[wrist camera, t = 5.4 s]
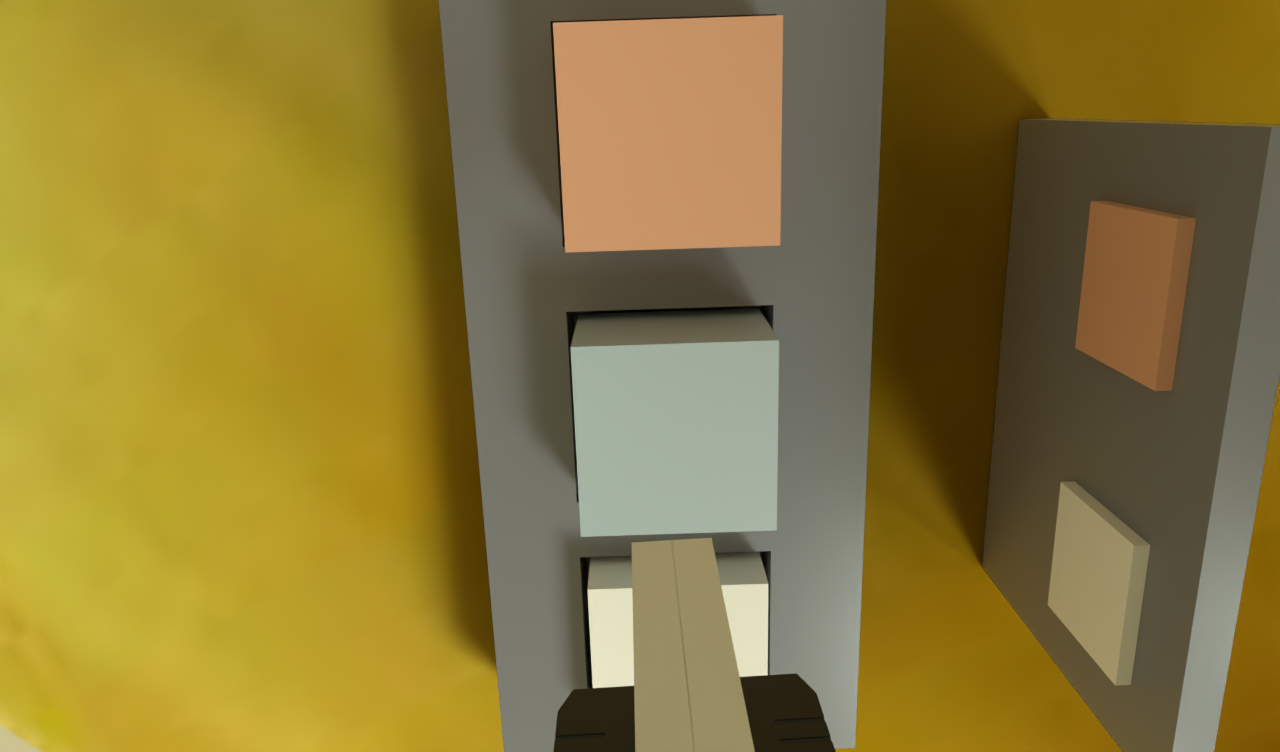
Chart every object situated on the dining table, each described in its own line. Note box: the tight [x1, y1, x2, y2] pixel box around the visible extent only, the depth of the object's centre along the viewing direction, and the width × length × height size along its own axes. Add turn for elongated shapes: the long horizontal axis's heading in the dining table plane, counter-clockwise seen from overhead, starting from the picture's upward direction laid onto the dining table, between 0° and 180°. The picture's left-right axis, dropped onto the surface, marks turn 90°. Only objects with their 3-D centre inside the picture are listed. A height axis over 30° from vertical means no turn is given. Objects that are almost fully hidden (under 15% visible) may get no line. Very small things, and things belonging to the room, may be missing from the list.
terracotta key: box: [553, 15, 783, 252], centre depth 24 cm, size 6×6×4 cm
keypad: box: [439, 0, 1280, 752], centre depth 26 cm, size 25×18×12 cm
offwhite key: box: [588, 552, 768, 688], centre depth 30 cm, size 6×6×4 cm
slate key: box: [571, 308, 779, 537], centre depth 27 cm, size 6×6×4 cm
